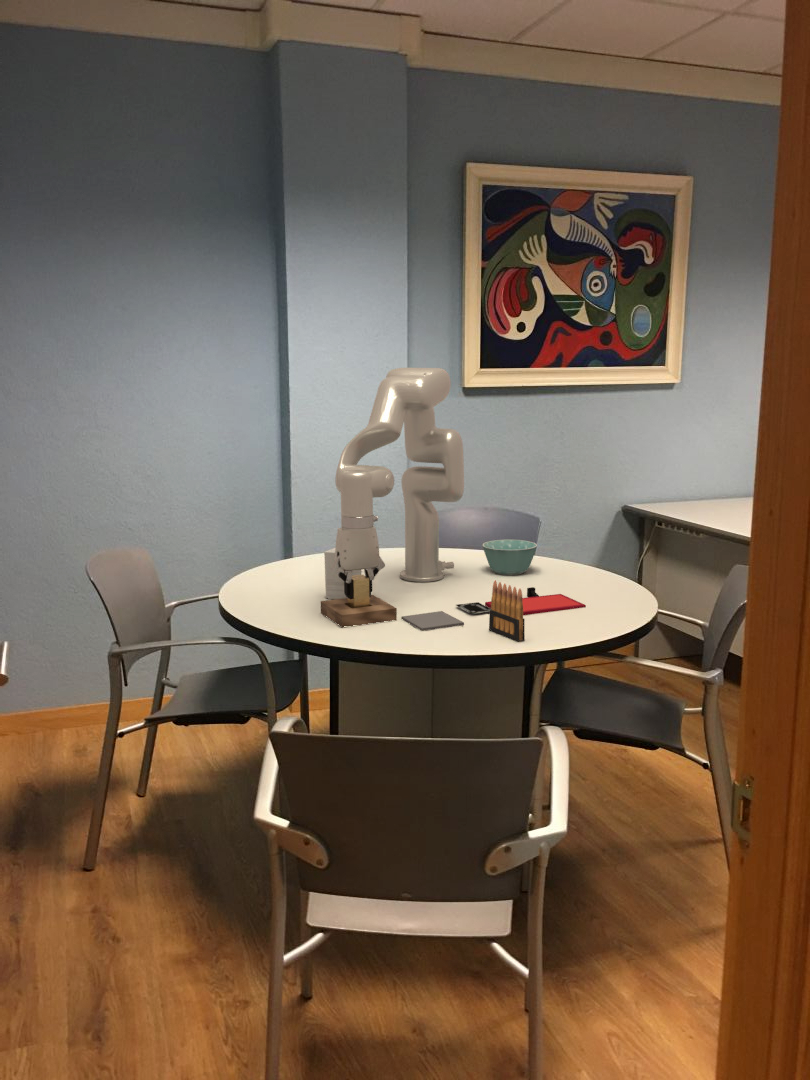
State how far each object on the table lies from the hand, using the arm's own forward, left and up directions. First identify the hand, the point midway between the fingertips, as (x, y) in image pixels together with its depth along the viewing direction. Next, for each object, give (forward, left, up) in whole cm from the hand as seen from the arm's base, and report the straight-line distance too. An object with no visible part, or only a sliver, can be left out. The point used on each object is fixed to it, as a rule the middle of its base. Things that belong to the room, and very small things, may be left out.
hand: (358, 595), depth 223 cm
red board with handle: (-40, +10, -6) cm, 41 cm away
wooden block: (0, 0, -3) cm, 3 cm away
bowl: (-58, -24, -5) cm, 63 cm away
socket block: (0, 0, -5) cm, 5 cm away
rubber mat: (-14, +12, -5) cm, 19 cm away
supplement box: (-4, -19, -5) cm, 20 cm away
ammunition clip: (-24, +29, -5) cm, 38 cm away
